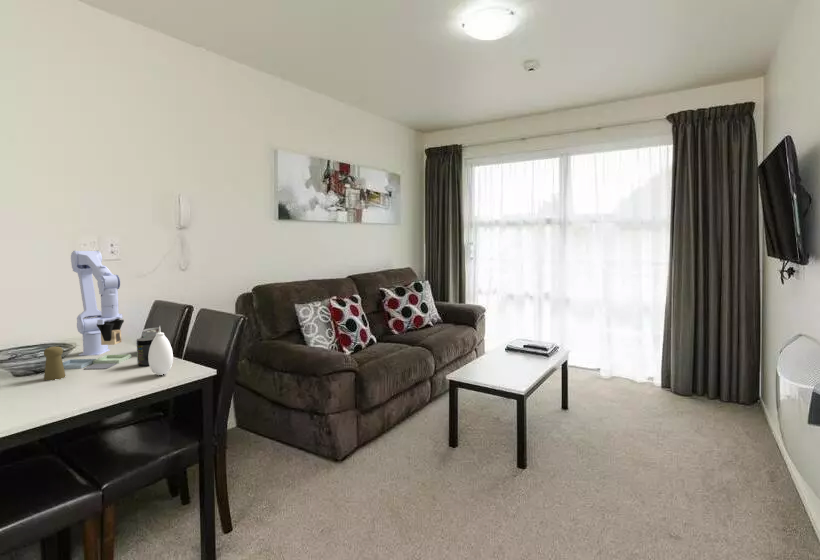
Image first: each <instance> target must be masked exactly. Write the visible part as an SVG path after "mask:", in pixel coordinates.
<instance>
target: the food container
mask: <svg viewBox="0 0 820 560" xmlns="http://www.w3.org/2000/svg"><path fill="white" fill-rule="evenodd" d="M156 333H159V327H151V328H145V329H143V330H142V333H141V337H142V338H146V337H155V336H156Z"/></svg>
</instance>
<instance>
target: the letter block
mask: <svg viewBox="0 0 820 560" xmlns="http://www.w3.org/2000/svg"><path fill="white" fill-rule="evenodd" d="M120 343H122V330H121V329H120V330H112V335H111V341H104V339H103V336H102V333H101V345H108V346H110V345H112V346H114V345H117V344H120Z"/></svg>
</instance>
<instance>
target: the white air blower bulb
mask: <svg viewBox="0 0 820 560" xmlns="http://www.w3.org/2000/svg"><path fill="white" fill-rule="evenodd" d="M173 352H174V351H173V348H172V346H171V341H170V340H169V339H168V338H167V337H166V335H165V333H164V332H162V331H161V325H159V333H156V336H155V338H154V339H153V341H152V343H151V346H150V349H149V354H148V361H149V366H148V367H149V368H150V370H151V372H152V373H154V374H155V375H157V376H159V375H162V376H164V375H167V373H168V372H170V371H171V368H172V366H173V364H174V354H173ZM163 374H164V375H163Z"/></svg>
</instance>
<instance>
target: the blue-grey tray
mask: <svg viewBox="0 0 820 560" xmlns="http://www.w3.org/2000/svg"><path fill="white" fill-rule="evenodd" d="M96 359H97V358H73V359H72V358H70V359H67V360H65V361H62V362H63V367H64V370H71V369H74V370H75V369H84V368H86V367H89V366H91V365H93V361H94V360H96Z"/></svg>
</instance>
